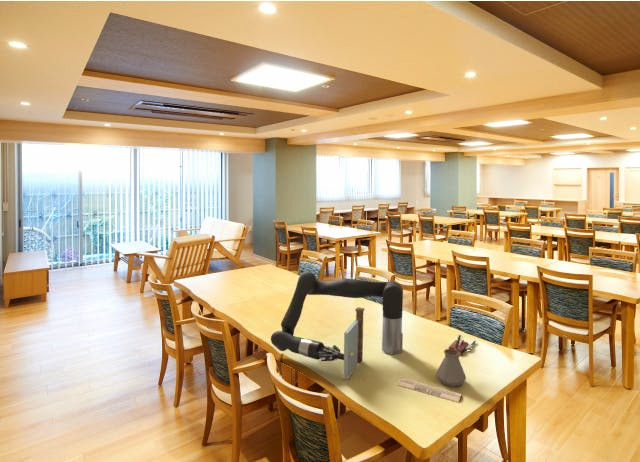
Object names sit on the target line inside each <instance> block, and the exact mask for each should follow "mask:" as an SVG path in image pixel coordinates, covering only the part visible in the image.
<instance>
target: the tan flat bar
mask: <svg viewBox="0 0 640 462" xmlns="http://www.w3.org/2000/svg"><path fill="white" fill-rule="evenodd" d="M397 386H398V387H402V388H407V389H410V390H412V391H417V392H419V393H422V394H427V395H430V396H434V397H437V398H440V399H444V400H447V401H451V402H454V401H455V403H458V402H459V403H460V398H461V397H462V396H463V394H461V393H459V392H455V391H451V390H448V389H444V388H440V387H436V386H433V385H430V384H426V383H421V382H419V381H415V380H412V379H408V378H404V377H402V378H401V379H400V380H399V381H398V384H397Z"/></svg>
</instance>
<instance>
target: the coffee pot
mask: <svg viewBox="0 0 640 462" xmlns="http://www.w3.org/2000/svg"><path fill="white" fill-rule="evenodd" d="M463 338H464V336H462V335H461V334H458V335H457V339H456V340H457V342H456V345H455V350H454V349H449V348H446V349H444V350H443V353H444V358H443V360H442V362H441V363H440V365H439V367H438V368H437V370H436V376H437V378H438V380H439V381H440V382H441V383H442V384H443V385H445V386H448V387H453V388H454V387H455V386H456V387H459V386H461V385H462V384H464V383H465V381H466V380H467V379H466V378H467V377H466V374H465V371H464V368H463V366H462V364H461V360H460V357H461V356H462V355H461V353H460V352H459V351H457V348H458V345H459V341H460V339H462V340H463Z"/></svg>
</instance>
